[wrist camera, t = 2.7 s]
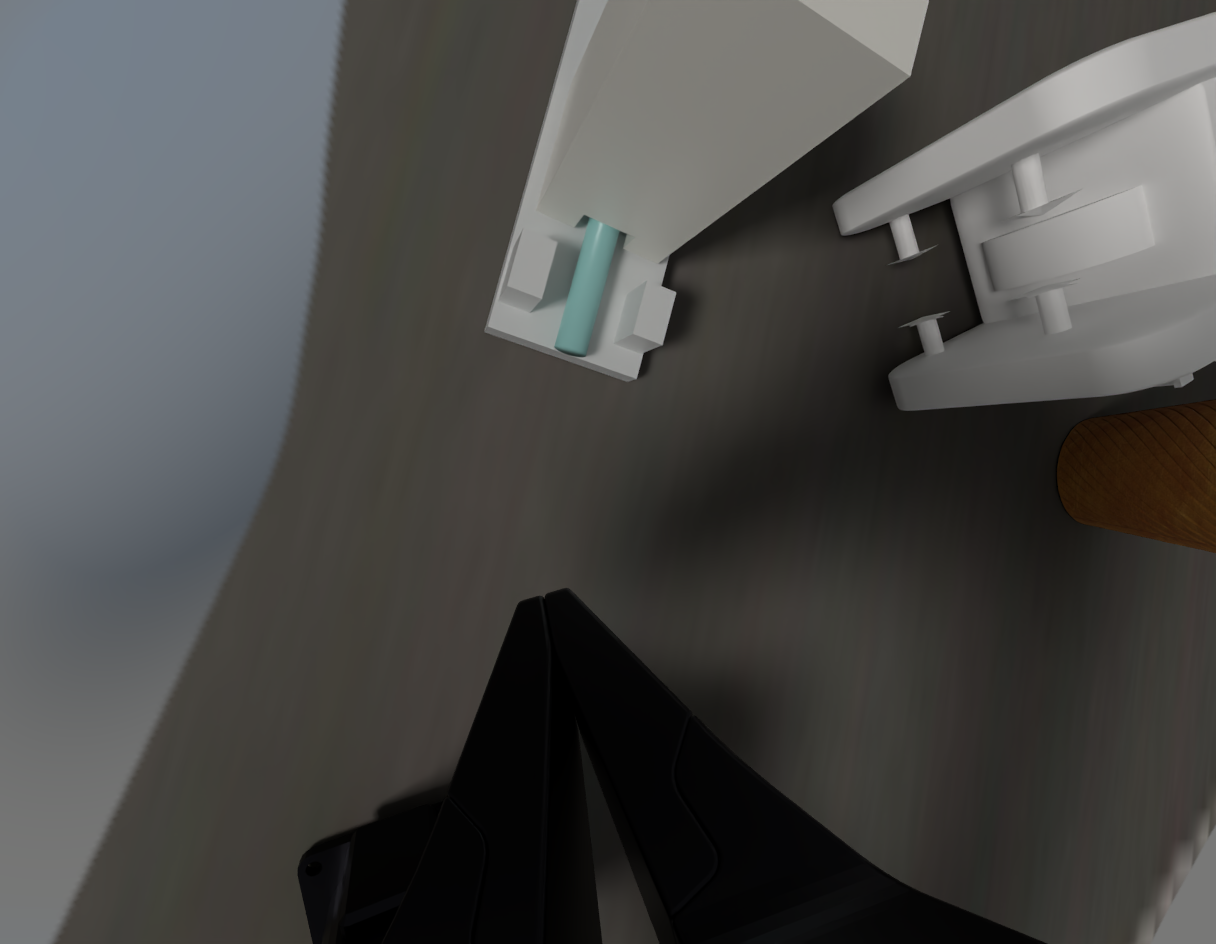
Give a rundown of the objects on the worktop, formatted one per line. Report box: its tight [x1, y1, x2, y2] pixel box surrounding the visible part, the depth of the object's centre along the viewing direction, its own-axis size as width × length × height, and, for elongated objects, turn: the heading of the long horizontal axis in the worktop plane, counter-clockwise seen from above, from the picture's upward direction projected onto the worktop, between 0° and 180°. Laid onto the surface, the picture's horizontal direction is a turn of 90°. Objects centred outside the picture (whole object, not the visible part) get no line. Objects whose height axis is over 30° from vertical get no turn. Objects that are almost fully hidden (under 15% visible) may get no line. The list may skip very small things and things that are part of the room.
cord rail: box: [484, 0, 676, 382], centre depth 20 cm, size 24×6×5 cm, turn 165°
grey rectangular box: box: [536, 0, 929, 264], centre depth 16 cm, size 5×5×12 cm
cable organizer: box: [832, 12, 1216, 411], centre depth 23 cm, size 15×11×12 cm
